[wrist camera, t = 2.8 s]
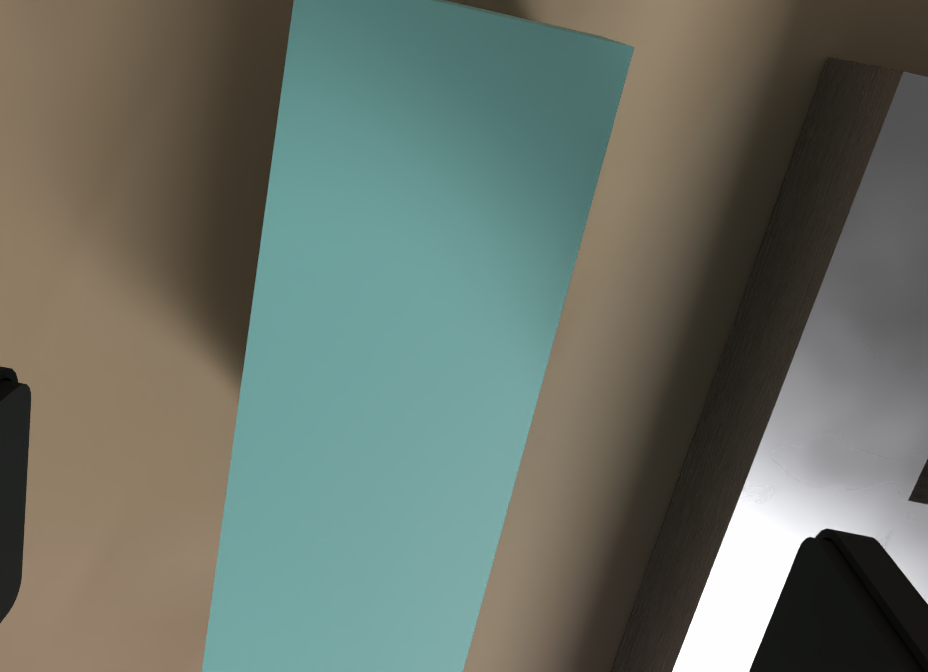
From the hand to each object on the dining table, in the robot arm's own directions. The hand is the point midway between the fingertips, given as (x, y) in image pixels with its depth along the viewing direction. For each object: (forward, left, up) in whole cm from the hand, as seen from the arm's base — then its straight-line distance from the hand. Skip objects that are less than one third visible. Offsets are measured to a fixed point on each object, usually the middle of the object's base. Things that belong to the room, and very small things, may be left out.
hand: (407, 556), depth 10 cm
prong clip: (-1, -1, -9) cm, 9 cm away
